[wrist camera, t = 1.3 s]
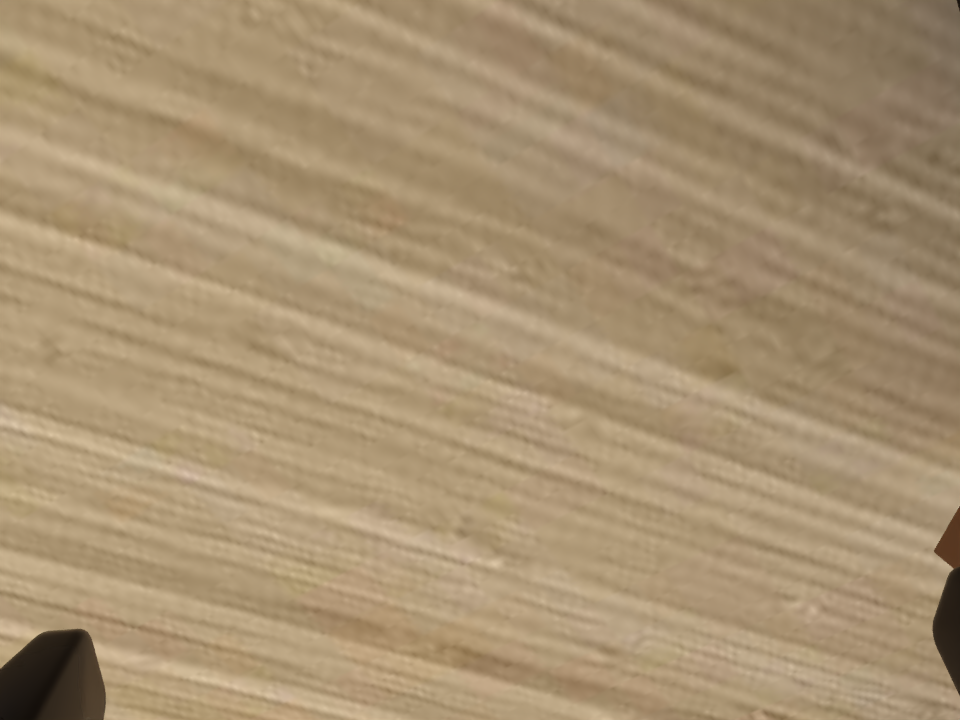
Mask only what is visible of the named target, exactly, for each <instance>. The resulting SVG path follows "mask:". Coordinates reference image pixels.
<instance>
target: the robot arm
mask: <svg viewBox="0 0 960 720" xmlns="http://www.w3.org/2000/svg"><path fill="white" fill-rule="evenodd" d="M933 637H934V640H935V644H936V646H937V649H938V651H939V653H940V655H941V657H942V659H943V662H944V664H945V666H946V668H947V670H948V672H949V674H950V676H951V678H952V681H953V683H954V685H955V687H956V689H957V691H958V693H959V695H960V566H959V567H956V568H954V569H953V570H952V571H951V572H950V574H949V576H948V578H947V581H946V584H945V587H944V590H943V593H942V596H941V599H940V602H939V605H938V608H937V611H936V614H935V617H934V620H933ZM105 705H106V693H105V686H104V682H103V679H102V675H101V671H100V668H99V664H98V660H97V657H96V653H95V649H94V645H93V642H92V639H91V637H90V635H89V633H88V632H87V631H85V630H82V629H69V630H56V631H47V632H43V633H41V634H40V635H38V636H37V637H35V638H34V639H33V640H32V641H31V642H30V643H28V644H27V645H26V646H25V647H24V648H23V649H22V650H21V651H20V652H18V653H17V654H16V655H15V656H14V657H13V658H12V659H11V660H10V661H8V662H7V663H6V664H5V665H4V666H3V667H2V668H1V669H0V720H103V719H104V713H105Z"/></svg>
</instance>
